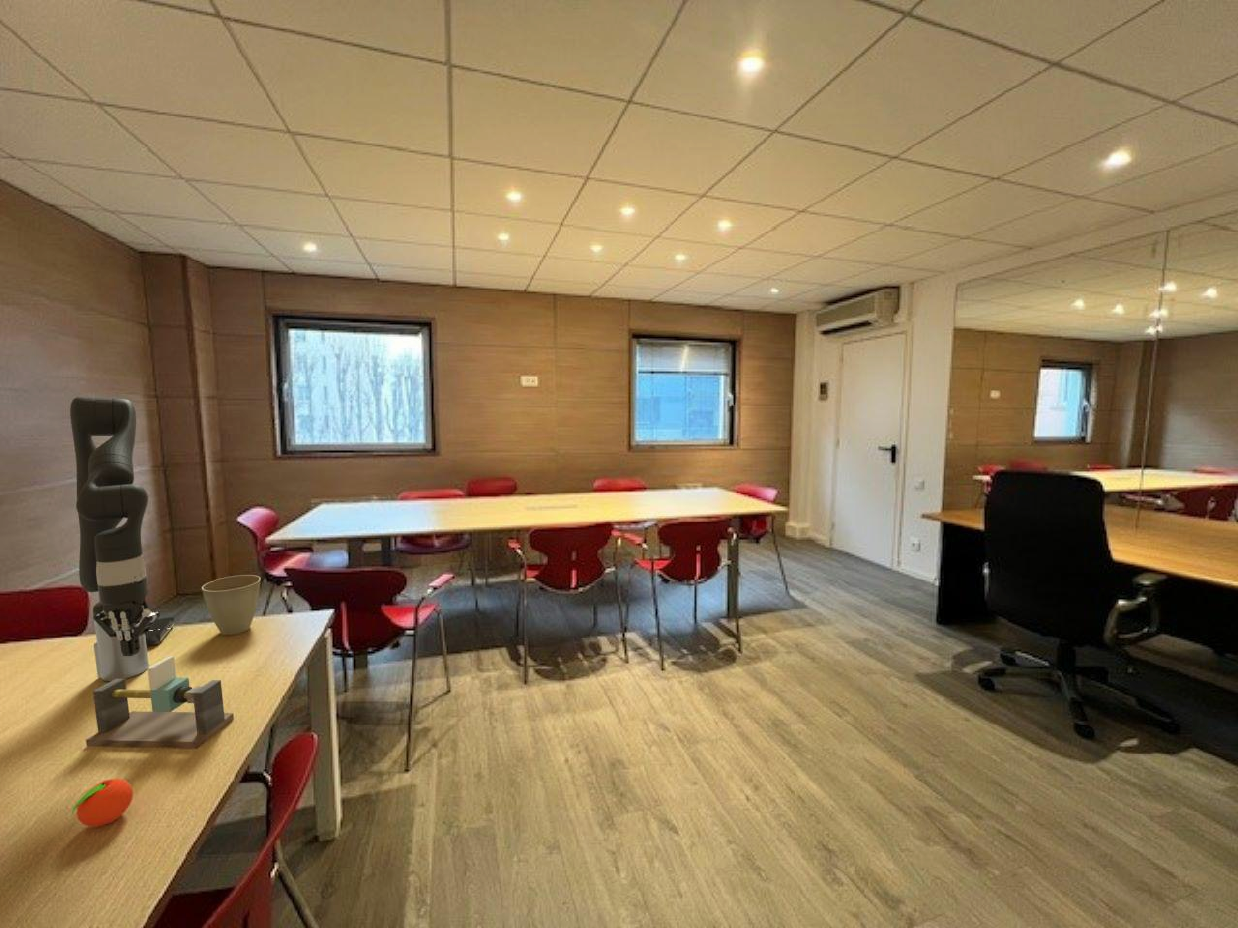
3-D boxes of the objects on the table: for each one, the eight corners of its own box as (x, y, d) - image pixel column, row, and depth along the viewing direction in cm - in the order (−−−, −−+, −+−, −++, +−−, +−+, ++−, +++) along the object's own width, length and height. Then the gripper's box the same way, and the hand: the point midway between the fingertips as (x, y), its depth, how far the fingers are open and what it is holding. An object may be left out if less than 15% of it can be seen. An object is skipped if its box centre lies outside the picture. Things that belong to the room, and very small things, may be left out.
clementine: (88, 846, 83) (83, 807, 83) (60, 836, 85) (54, 798, 84) (145, 809, 91) (140, 772, 90) (118, 800, 93) (113, 765, 92)
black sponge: (159, 647, 152) (158, 635, 151) (121, 653, 148) (120, 641, 148) (177, 626, 166) (176, 615, 166) (143, 631, 163) (142, 620, 162)
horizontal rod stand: (86, 746, 108) (80, 697, 106) (132, 717, 118) (127, 672, 116) (197, 748, 107) (191, 699, 106) (233, 718, 117) (229, 674, 116)
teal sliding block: (152, 711, 109) (147, 667, 108) (173, 698, 114) (168, 656, 113) (170, 711, 109) (165, 668, 108) (190, 698, 114) (186, 656, 113)
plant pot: (227, 644, 153) (222, 593, 151) (195, 636, 158) (190, 587, 156) (275, 624, 167) (271, 577, 165) (244, 617, 172) (240, 572, 170)
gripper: (73, 583, 104) (83, 662, 107) (135, 584, 104) (144, 664, 106) (110, 571, 112) (119, 645, 114) (168, 572, 112) (176, 646, 114)
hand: (131, 654), depth 110 cm, fingers closed
